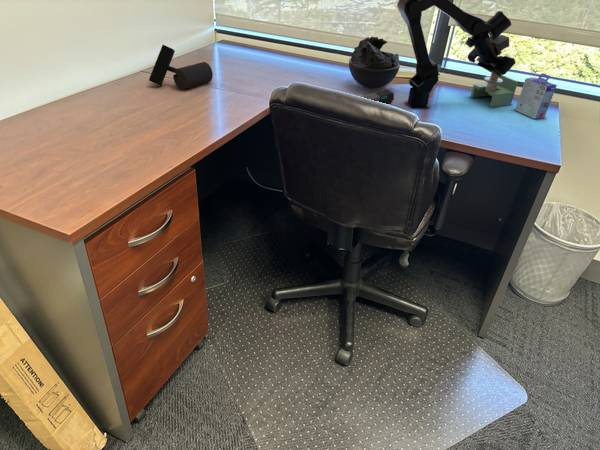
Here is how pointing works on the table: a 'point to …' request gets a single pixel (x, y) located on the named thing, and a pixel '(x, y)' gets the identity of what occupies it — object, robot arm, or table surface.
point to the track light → (180, 71)
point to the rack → (497, 92)
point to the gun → (382, 96)
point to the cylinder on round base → (492, 82)
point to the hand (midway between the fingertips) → (497, 74)
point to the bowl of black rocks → (373, 64)
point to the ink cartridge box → (535, 97)
